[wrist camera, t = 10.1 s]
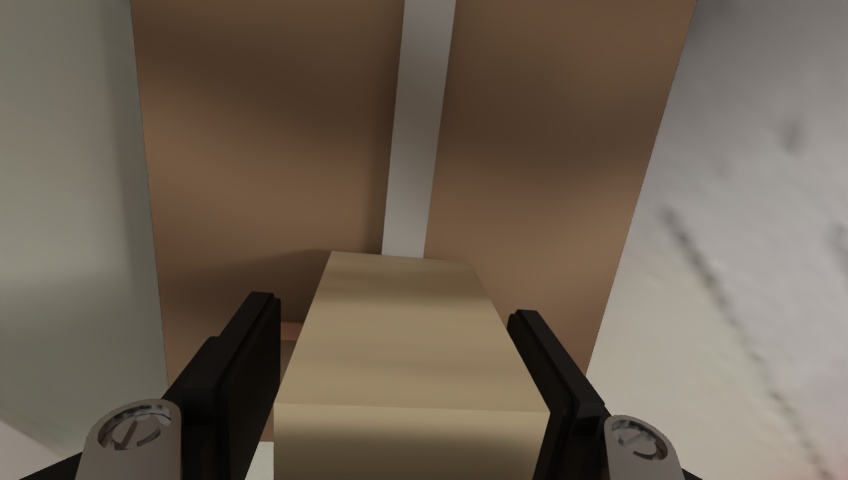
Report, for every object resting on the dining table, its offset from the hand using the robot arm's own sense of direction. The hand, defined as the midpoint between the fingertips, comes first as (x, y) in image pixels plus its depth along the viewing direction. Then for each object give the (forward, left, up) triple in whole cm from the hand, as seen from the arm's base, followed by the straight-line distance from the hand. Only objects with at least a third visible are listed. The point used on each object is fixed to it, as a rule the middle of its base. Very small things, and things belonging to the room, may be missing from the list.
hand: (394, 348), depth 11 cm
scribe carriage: (0, 0, -1) cm, 1 cm away
